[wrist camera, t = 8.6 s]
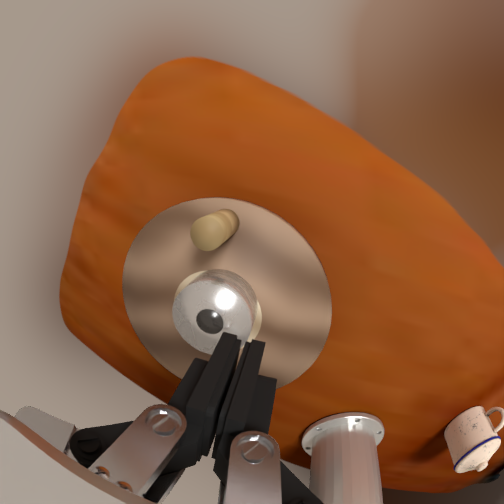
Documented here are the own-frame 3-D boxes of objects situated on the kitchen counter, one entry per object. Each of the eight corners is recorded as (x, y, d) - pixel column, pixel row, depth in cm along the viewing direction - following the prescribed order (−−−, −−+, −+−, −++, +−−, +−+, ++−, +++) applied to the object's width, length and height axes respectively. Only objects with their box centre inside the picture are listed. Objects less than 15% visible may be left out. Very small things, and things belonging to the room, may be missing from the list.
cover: (250, 342, 26) (242, 364, 23) (184, 323, 27) (170, 341, 24) (265, 279, 24) (258, 296, 21) (191, 260, 25) (174, 273, 22)
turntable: (300, 401, 29) (297, 442, 23) (135, 357, 32) (109, 385, 26) (355, 220, 23) (372, 235, 17) (132, 185, 26) (90, 190, 20)
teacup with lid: (457, 440, 30) (472, 483, 19) (433, 435, 30) (448, 485, 19) (502, 396, 26) (525, 437, 15) (482, 387, 26) (510, 435, 15)
